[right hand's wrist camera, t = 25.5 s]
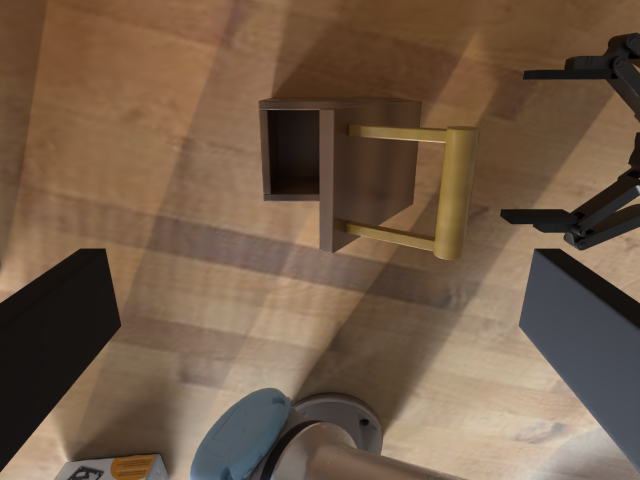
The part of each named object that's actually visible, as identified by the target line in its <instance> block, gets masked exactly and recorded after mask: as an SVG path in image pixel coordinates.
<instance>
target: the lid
mask: <svg viewBox="0 0 640 480" xmlns="http://www.w3.org/2000/svg"><path fill="white" fill-rule="evenodd" d="M421 104H422V102H421V101H407V102H395V103H382V104H370V105H358V106H346V107H334V108H322V109H320V251H324V252H328V253H332V254H333V253H334V252H336V251H338V250H339V249H341V248H342V247H344V246H346V245H347V244H349V243H351V242H352V241H354V240H355V239H357V238H359V237H360V236H364V237H369V238H374V239H378V240H383V241H388V242H392V243H397V244H402V245H406V246H411V247H416V248H420V249H425V250H430V251H434V252H433V253H434V255H435V256H437V257H439V258H441V259H446V260H458V259H461V258H462V257H463V252H464V244H465V237H466V230H467V222H468V215H469V208H470V200H471V193H472V186H473V178H474V171H475V164H476V156H477V149H478V142H479V134H480V128H478V127H469V126H451V127H447V129H438V128H420V116H421ZM418 141H425V142H439V143H445V150H444V159H443V168H442V178H441V187H440V196H439V205H438V215H437V224H436V233H435V237H431V236H426V235H421V234H416V233H411V232H406V231H400V230H395V229H390V228H385V227H380V226H378V225H380V224H381V223H383V222H385V221H386V220H388V219H389V218H391V217H393V216H394V215H396V214H398V213H399V212H401V211H402V210H404V209H406V208H407V207H409V206H410V205H412V204H413V198H414V187H415V175H416V163H417V151H418Z"/></svg>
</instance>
